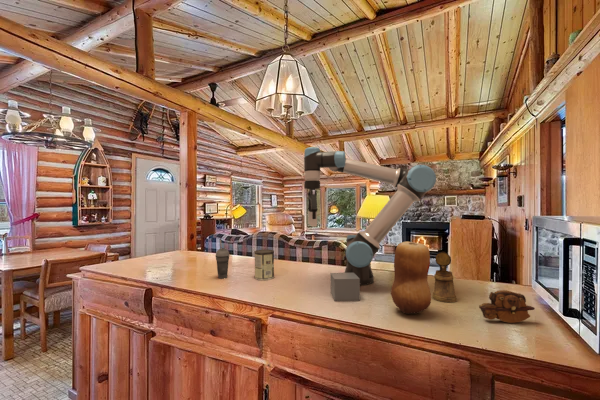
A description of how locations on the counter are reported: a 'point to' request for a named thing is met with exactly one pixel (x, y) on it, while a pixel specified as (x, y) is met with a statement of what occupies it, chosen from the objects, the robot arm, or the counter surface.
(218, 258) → the beverage cup
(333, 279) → the grey cubic block
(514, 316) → the wooden carving
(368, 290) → the counter surface
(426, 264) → the butternut squash
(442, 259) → the brown pawn shape
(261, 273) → the coffee can
